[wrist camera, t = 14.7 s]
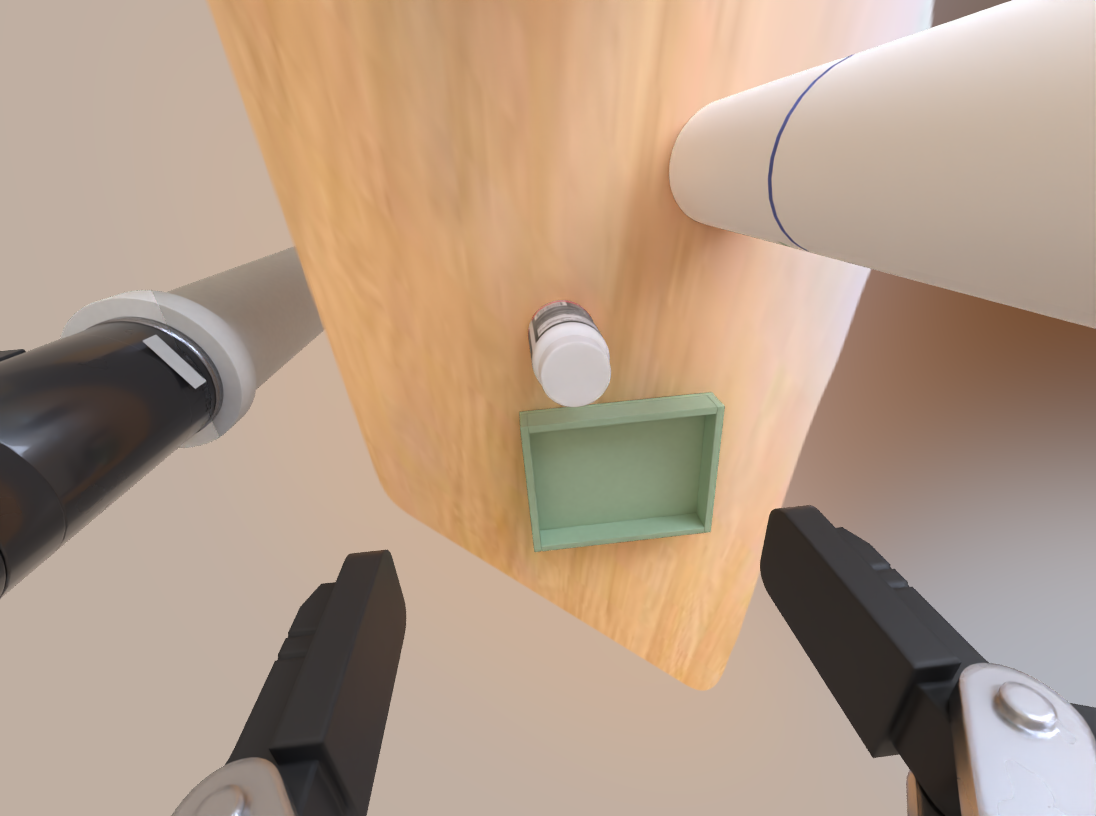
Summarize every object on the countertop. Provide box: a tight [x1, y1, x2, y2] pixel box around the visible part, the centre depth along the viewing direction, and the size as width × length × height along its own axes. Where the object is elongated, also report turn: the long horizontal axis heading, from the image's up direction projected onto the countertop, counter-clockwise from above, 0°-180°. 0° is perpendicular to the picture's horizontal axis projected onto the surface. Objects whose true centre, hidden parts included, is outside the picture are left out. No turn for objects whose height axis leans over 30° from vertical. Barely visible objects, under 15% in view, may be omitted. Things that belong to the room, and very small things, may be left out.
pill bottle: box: [528, 300, 611, 407], centre depth 30 cm, size 5×5×8 cm
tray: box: [519, 392, 725, 552], centre depth 38 cm, size 15×12×2 cm
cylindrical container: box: [669, 0, 1096, 329], centre depth 18 cm, size 7×7×25 cm
